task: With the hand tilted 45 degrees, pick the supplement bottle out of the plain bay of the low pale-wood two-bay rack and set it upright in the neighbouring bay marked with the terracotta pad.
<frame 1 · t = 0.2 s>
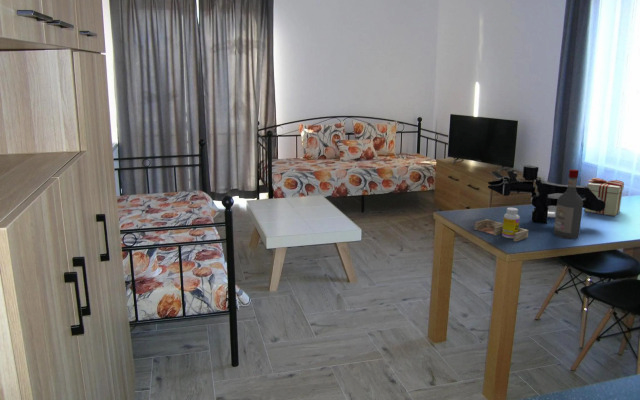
hand: (488, 184, 265), 17 cm above the table, tool horizontal, fingers open, 9 cm apart
liquor: (565, 236, 240), on the table
rack: (499, 233, 242), on the table
gift box: (601, 211, 282), on the table
supplement bottle: (509, 237, 238), resting in rack
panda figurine: (550, 214, 274), on the table
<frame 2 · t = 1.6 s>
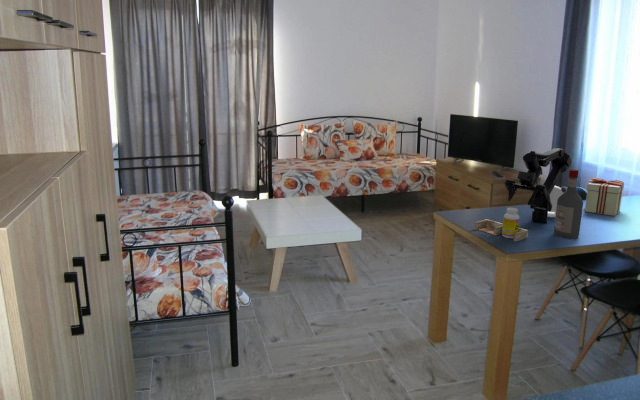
hand: (518, 202, 241), 14 cm above the table, tool tilted 45°, fingers open, 9 cm apart
nothing on the table moved.
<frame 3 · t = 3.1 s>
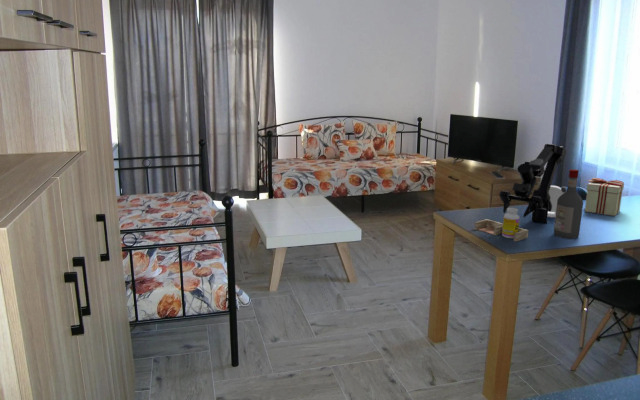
hand: (513, 214, 237), 10 cm above the table, tool tilted 45°, fingers open, 9 cm apart
nothing on the table moved.
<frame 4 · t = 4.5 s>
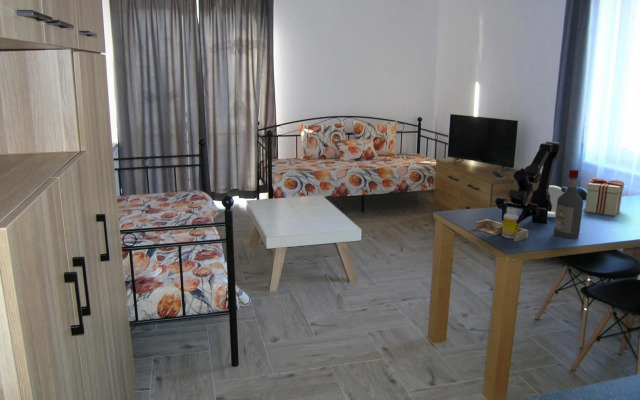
hand: (509, 221, 235), 7 cm above the table, tool tilted 45°, fingers closed on supplement bottle, 7 cm apart
supplement bottle: (509, 237, 238), resting in rack, touching gripper
everything else where it was.
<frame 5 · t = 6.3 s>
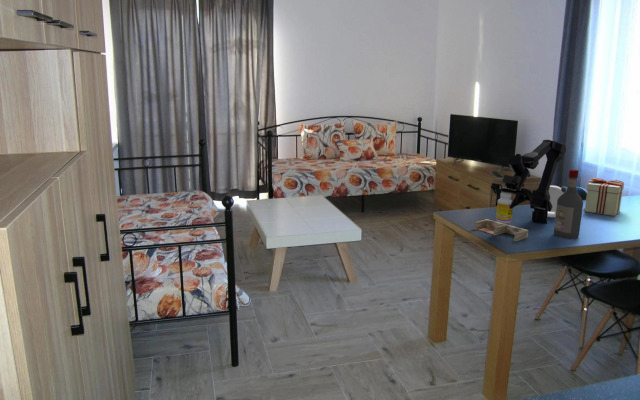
hand: (503, 206, 237), 13 cm above the table, tool tilted 45°, fingers closed on supplement bottle, 7 cm apart
supplement bottle: (503, 222, 239), point 6 cm above the table, touching gripper
everything else where it was.
when the fingers open (8 cm above the table, at t = 8.5 s): supplement bottle stays where it is, resting on rack.
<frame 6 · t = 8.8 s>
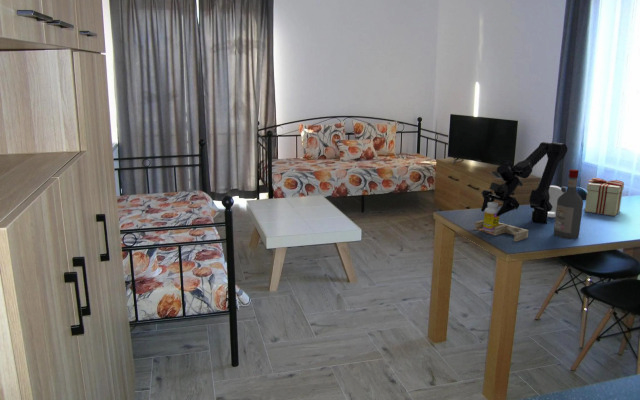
hand: (489, 213, 243), 9 cm above the table, tool tilted 45°, fingers open, 9 cm apart
supplement bottle: (490, 230, 246), resting on rack
everything else where it was.
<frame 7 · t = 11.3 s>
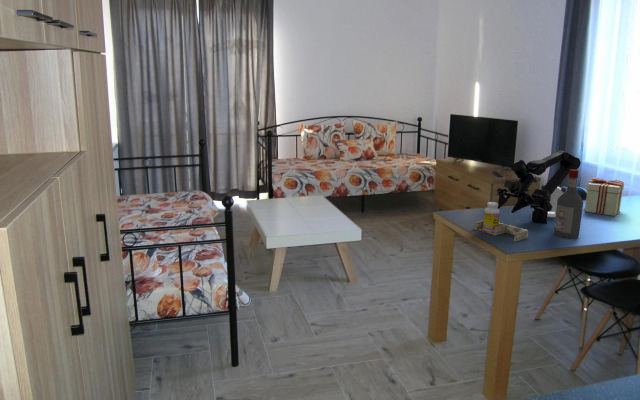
hand: (504, 210, 248), 9 cm above the table, tool tilted 45°, fingers open, 9 cm apart
nothing on the table moved.
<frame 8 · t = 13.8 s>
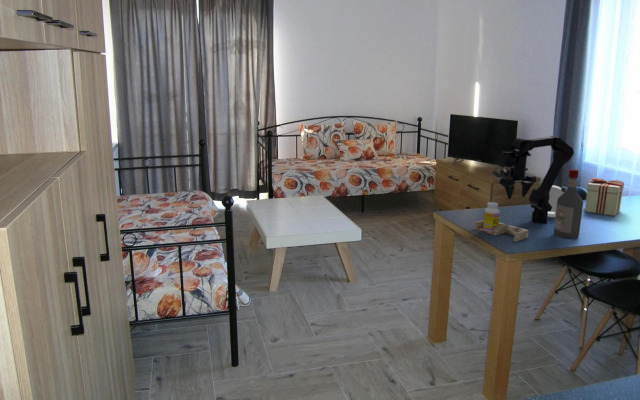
hand: (516, 197, 254), 13 cm above the table, tool pointing down, fingers open, 9 cm apart
nothing on the table moved.
at the end: supplement bottle 0.2 cm from the target spot, resting on rack; supplement bottle tilted 0°; the gripper is holding nothing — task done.
